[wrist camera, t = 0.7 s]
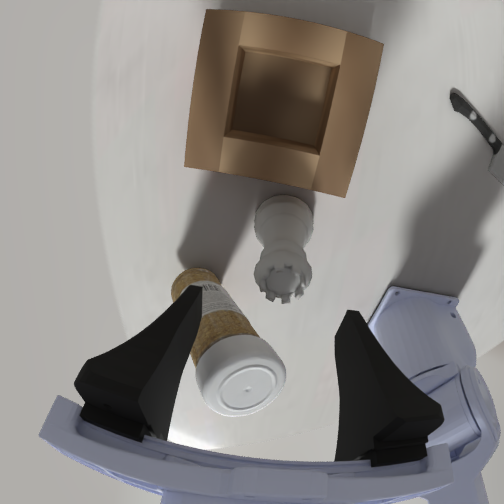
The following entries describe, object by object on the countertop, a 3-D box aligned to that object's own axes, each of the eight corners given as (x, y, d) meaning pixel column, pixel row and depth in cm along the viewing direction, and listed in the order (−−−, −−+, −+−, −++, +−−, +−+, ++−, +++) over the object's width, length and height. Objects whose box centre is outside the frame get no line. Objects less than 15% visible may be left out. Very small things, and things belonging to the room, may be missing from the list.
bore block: (367, 50, 14) (383, 44, 11) (335, 180, 20) (344, 198, 17) (219, 21, 14) (206, 9, 11) (199, 153, 20) (184, 166, 17)
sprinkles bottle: (168, 310, 25) (198, 422, 13) (174, 262, 24) (210, 354, 12) (216, 314, 26) (276, 415, 14) (225, 268, 26) (299, 351, 14)
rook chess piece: (324, 221, 22) (340, 288, 15) (282, 254, 24) (279, 326, 17) (285, 180, 20) (285, 234, 13) (242, 217, 22) (223, 283, 15)
